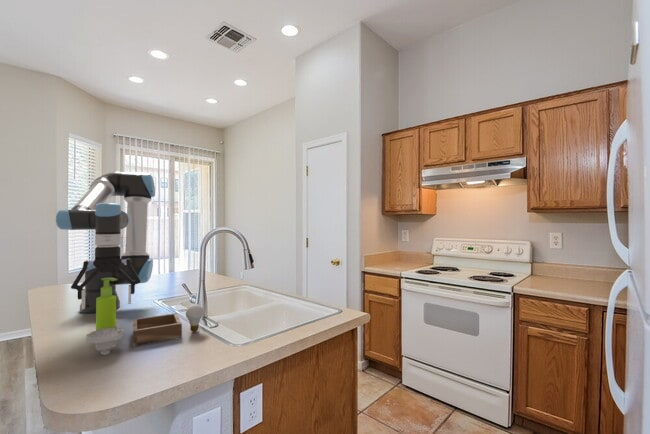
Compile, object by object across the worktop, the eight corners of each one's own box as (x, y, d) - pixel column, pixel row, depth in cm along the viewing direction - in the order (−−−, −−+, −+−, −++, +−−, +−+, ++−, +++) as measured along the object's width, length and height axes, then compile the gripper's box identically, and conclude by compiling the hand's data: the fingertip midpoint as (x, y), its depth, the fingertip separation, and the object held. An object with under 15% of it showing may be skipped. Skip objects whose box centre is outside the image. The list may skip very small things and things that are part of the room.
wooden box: (132, 333, 113) (132, 319, 113) (176, 326, 121) (176, 313, 121) (132, 346, 101) (132, 331, 101) (181, 338, 108) (181, 323, 108)
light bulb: (182, 332, 114) (183, 304, 114) (198, 327, 118) (198, 301, 119) (190, 336, 110) (190, 307, 110) (206, 331, 114) (206, 304, 115)
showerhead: (111, 335, 91) (78, 335, 91) (111, 360, 91) (77, 360, 91) (132, 324, 100) (102, 324, 101) (132, 347, 100) (101, 347, 101)
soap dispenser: (108, 337, 109) (108, 279, 109) (91, 336, 110) (92, 279, 110) (122, 331, 114) (122, 276, 115) (106, 330, 116) (106, 276, 116)
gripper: (61, 248, 103) (59, 313, 102) (148, 245, 116) (147, 303, 115) (65, 247, 109) (64, 308, 109) (147, 244, 122) (146, 299, 122)
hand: (107, 305), depth 112 cm, fingers open, 13 cm apart
